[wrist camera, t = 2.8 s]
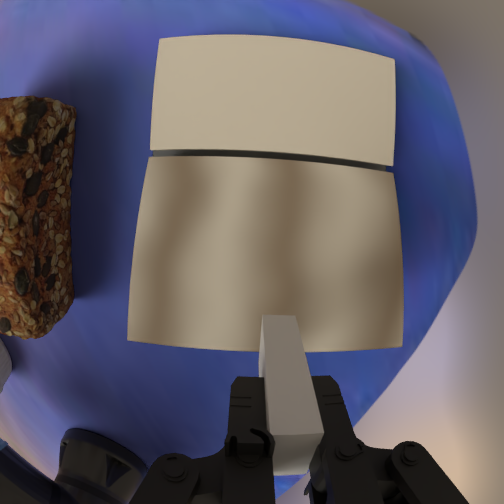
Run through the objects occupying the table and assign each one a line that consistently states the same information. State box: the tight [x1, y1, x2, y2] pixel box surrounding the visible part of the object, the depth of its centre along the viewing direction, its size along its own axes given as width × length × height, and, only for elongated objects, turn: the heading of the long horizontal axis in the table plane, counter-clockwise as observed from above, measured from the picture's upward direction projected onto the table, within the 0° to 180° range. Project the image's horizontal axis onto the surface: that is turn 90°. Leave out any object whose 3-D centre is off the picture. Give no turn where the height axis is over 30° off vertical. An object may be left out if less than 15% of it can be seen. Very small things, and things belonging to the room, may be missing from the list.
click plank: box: [127, 156, 404, 352], centre depth 17 cm, size 16×11×2 cm
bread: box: [0, 96, 77, 340], centre depth 16 cm, size 19×11×10 cm, turn 169°
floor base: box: [150, 35, 396, 172], centre depth 19 cm, size 17×20×3 cm
